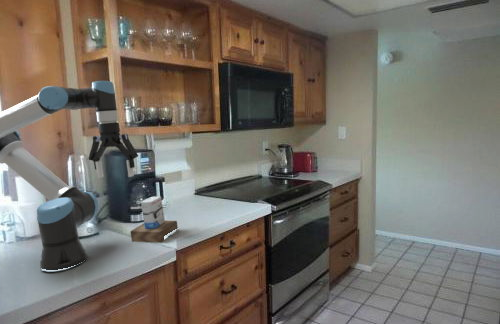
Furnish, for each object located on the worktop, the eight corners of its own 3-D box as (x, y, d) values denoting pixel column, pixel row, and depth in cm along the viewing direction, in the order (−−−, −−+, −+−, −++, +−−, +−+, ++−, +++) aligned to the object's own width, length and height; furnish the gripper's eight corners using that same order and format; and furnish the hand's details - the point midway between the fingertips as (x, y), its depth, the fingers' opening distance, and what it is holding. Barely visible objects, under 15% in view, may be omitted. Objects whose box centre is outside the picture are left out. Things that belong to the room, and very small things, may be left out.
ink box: (154, 229, 141) (150, 201, 139) (144, 229, 142) (140, 202, 140) (165, 221, 149) (161, 195, 147) (155, 221, 150) (151, 196, 148)
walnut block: (131, 242, 142) (130, 231, 141) (150, 230, 155) (149, 220, 154) (161, 244, 138) (159, 232, 137) (178, 231, 151) (176, 220, 150)
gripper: (142, 119, 130) (149, 173, 133) (86, 124, 136) (94, 175, 139) (131, 120, 123) (139, 177, 126) (73, 125, 128) (81, 179, 132)
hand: (115, 177), depth 132 cm, fingers open, 13 cm apart
